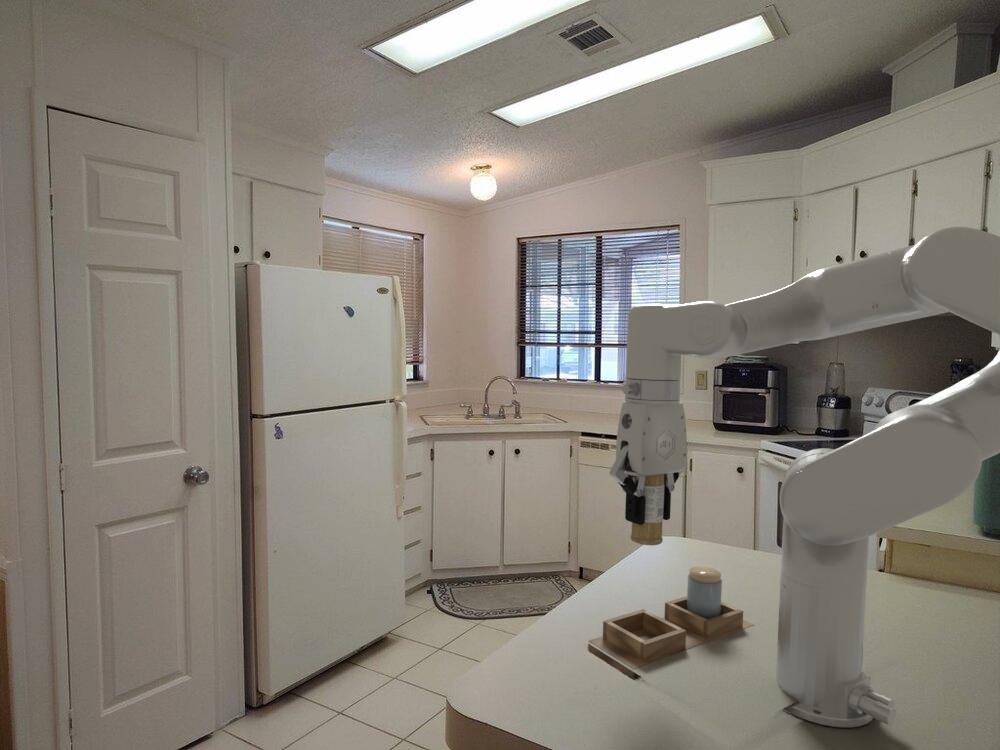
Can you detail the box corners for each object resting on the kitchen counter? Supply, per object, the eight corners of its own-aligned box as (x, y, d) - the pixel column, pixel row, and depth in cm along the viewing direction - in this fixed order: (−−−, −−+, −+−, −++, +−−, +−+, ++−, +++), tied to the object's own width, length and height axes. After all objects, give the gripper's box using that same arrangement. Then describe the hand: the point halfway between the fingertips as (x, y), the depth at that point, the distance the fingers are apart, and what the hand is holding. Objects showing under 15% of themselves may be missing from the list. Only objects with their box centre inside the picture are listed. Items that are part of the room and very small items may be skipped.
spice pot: (727, 625, 94) (729, 574, 94) (705, 632, 91) (707, 580, 91) (700, 613, 98) (702, 564, 98) (679, 620, 95) (681, 569, 95)
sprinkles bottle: (643, 534, 90) (646, 444, 90) (669, 542, 87) (672, 449, 86) (623, 540, 87) (626, 447, 87) (649, 549, 84) (653, 451, 83)
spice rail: (754, 634, 95) (755, 608, 94) (633, 679, 80) (634, 650, 80) (706, 612, 102) (707, 588, 102) (588, 650, 88) (588, 623, 88)
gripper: (628, 395, 78) (623, 535, 79) (713, 393, 88) (708, 518, 88) (589, 391, 85) (585, 521, 85) (672, 389, 94) (667, 507, 95)
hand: (647, 518), depth 87 cm, fingers closed on sprinkles bottle, 4 cm apart
